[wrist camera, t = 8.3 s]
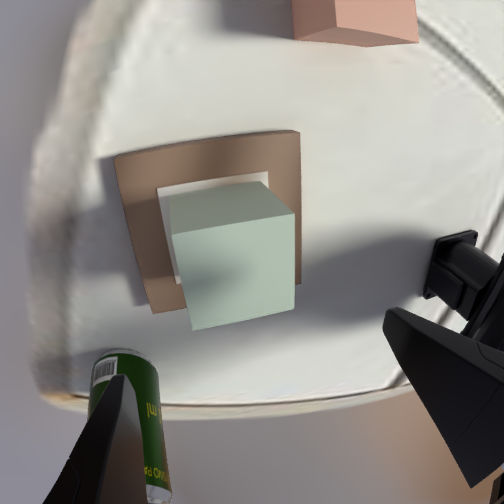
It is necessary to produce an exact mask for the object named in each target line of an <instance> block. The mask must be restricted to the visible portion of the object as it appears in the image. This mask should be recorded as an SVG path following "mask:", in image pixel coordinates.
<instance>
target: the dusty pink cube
mask: <svg viewBox="0 0 504 504" xmlns="http://www.w3.org/2000/svg"><path fill="white" fill-rule="evenodd" d="M291 4H292V16H293V29H294V40H301V41H316V42H328V43H338V44H347V45H354V46H362V47H374V46H384V45H396V44H411V43H419V36H418V23H417V13H416V4H415V0H291Z"/></svg>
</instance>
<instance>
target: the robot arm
mask: <svg viewBox="0 0 504 504" xmlns="http://www.w3.org/2000/svg"><path fill="white" fill-rule="evenodd" d="M477 237H478V232H476V231H475V230H473V231H469V232H465V233H461V234H457V235H454V236H450V237H446V238H442V239H439V240H437V242H436V244H435V247H434V252H433V256H432V261H431V265H430V269H429V273H428V277H427V281H426V285H425V288H424V292H423V297H424V298H425V299H426V300H427V299H430V298H432V297H435V296H438V297H439V298H440V299H441V300H442V301H444V302H445V303H446V304H447V305H448V306H449V307H450V308H451V309H452V310H456V311H457V312H458V313H459V314H460V315H461V316H462V317H463V318H464V319H465V320H466V321H468V323H467V324H466V326H465V328H464V329H463V331H461V332H460V334H459V333H457V332H454V331H452V330H450V329H447V328H445V327H443V326H441V325H438V324H436V323H434V322H431V321H429V320H427V319H424V318H422V317H420V316H418V315H415V314H413V313H411V312H408V311H406V310H404V309H401V308H399V307H394V308H391V309H388V310H387V311H386V314H385V318H384V322H383V326H382V329H383V333H384V335H385V337H386V339H387V341H388V343H389V345H390V347H391V349H392V351H393V353H394V355H395V357H396V359H397V361H398V363H399V365H400V366H401V368H402V370H403V371H404V373H405V375H406V376H407V378H408V379H409V381H410V383H411V384H412V386H413V388H414V389H415V391H416V392H417V394H418V396H419V397H420V399H421V401H422V402H423V404H424V406H425V407H426V409H427V411H428V413H429V414H430V416H431V418H432V419H433V421H434V423H435V424H436V426H437V428H438V430H439V431H440V433H441V435H442V437H443V438H444V440H445V442H446V444H447V445H448V447H449V449H450V451H451V453H452V455H453V457H454V459H455V460H456V462H457V464H458V466H459V468H460V469H461V471H462V473H463V475H464V477H465V479H466V481H467V483H468V485H469V486H470V488H473V487H474V486H475V485H477V484H478V483H479V482H481V481H482V480H483V479H485V478H486V477H487V476H489V475H490V474H491V473H492V472H494V471H495V470H496V469H497V468H498V467H500V466H501V467H502V468H503V470H504V253H503V255H502V260H501V262H500V264H499V263H498V262H496V261H495V260H494V259H492V258H491V257H490V256H488V255H487V254H485V253H484V252H482V251H481V250H480V249H478V248H477V247H475V245H476V241H477ZM69 458H70V459H68V460H67V462H66V464H65V466H64V468H63V470H62V472H61V474H60V476H59V477H58V479H57V481H56V483H55V484H54V486H53V488H52V489H51V491H50V492H49V494H48V496H47V498H46V499H45V500H44V502H43V504H148V499H147V491H146V481H145V470H144V457H143V442H142V433H141V427H140V421H139V415H138V408H137V402H136V395H135V391H134V389H133V387H132V385H131V383H130V381H129V379H128V378H127V376H126V375H125V374H118V375H114V376H112V378H111V379H110V381H109V383H108V385H107V387H106V388H105V390H104V392H103V394H102V396H101V397H100V399H99V401H98V403H97V405H96V407H95V408H94V410H93V412H92V414H91V416H90V418H89V419H88V421H87V423H86V425H85V427H84V429H83V431H82V433H81V435H80V437H79V438H78V440H77V442H76V444H75V446H74V448H73V450H72V452H71V454H70V456H69ZM490 504H504V472H503V473H502V474H500V476H498V477H497V478H496V479H495V480H494V482H493V488H492V493H491V499H490Z"/></svg>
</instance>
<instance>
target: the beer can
mask: <svg viewBox="0 0 504 504" xmlns="http://www.w3.org/2000/svg"><path fill="white" fill-rule="evenodd" d="M118 374H125V375H126V376H127V378H128V379H129V381H130V383H131V385H132V387H133V389H134V391H135V395H136V402H137V408H138V415H139V421H140V427H141V433H142V442H143V457H144V470H145V481H146V491H147V499H148V504H170V502H171V499H172V489H171V483H170V477H169V470H168V464H167V458H166V449H165V442H164V433H163V424H162V414H161V404H160V393H159V380H158V373H157V371H156V369H155V367H154V365H153V364H152V362H151V361H150V360H149V359H148V358H147V357H146V356H144V355H142V354H141V353H139V352H136V351H133V350H129V349H115V350H110V351H108V352H106V353H104V354H103V355H102V356H101V357H100V358H99V359H98V360H97V361H96V362H95V363H94V366H93V369H92V376H91V385H90V394H89V405H88V418H87V421H88V419H89V418H90V416H91V414H92V412H93V410H94V408H95V407H96V405H97V403H98V401H99V399H100V397H101V396H102V394H103V392H104V390H105V388H106V387H107V385H108V383H109V381H110V379H111V378H112V376H114V375H118Z"/></svg>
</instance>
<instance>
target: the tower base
mask: <svg viewBox="0 0 504 504" xmlns="http://www.w3.org/2000/svg"><path fill="white" fill-rule="evenodd" d="M114 165H115V170H116V175H117V180H118V185H119V190H120V194H121V199H122V203H123V208H124V212H125V216H126V221H127V225H128V229H129V233H130V237H131V241H132V245H133V248H134V252H135V256H136V260H137V263H138V267H139V270H140V274H141V277H142V281H143V284H144V287H145V291H146V294H147V297H148V300H149V304H150V307H151V310H152V313H153V314H157V313H162V312H168V311H173V310H178V309H183V308H187V305H186V301H185V297H184V292H183V288H182V284H181V279H180V275H179V270H178V265H177V261H176V256H175V251H174V246H173V241H172V236H171V224H170V208H169V195H174V194H179V193H185V192H191V191H197V190H203V189H209V188H215V187H222V186H228V185H235V184H242V183H249V182H256V181H261V182H262V183H263V184H264V185H265V186H266V187H267V188H268V189H270V190H271V191H272V192H273V193H274V194H275V195H276V196H277V197H278V198H279V199H280V200H281V201H282V202H283V203H284V204H285V205H286V206H287V207H288V208H289V209H290V210H291V211H292V212H294V213H295V285H297V284H301V152H300V132H297V131H294V130H284V131H272V132H260V133H250V134H241V135H232V136H224V137H216V138H209V139H202V140H195V141H189V142H183V143H176V144H171V145H165V146H159V147H154V148H149V149H144V150H139V151H134V152H129V153H124V154H120V155H117V156H116V157H115V158H114Z"/></svg>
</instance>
